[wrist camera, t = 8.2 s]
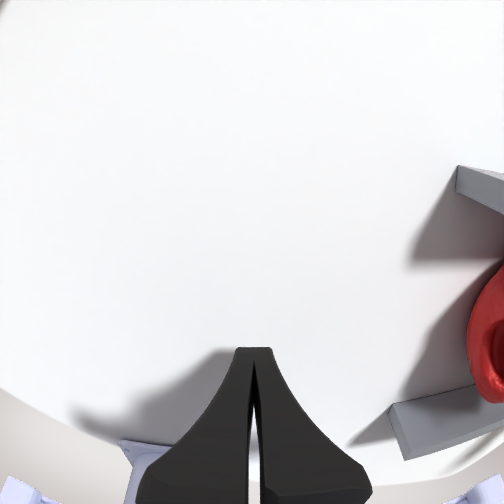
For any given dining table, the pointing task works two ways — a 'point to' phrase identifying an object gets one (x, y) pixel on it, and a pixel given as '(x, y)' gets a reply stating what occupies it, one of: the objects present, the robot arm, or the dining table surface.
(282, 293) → the dining table surface
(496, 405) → the tray
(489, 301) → the pomegranate
